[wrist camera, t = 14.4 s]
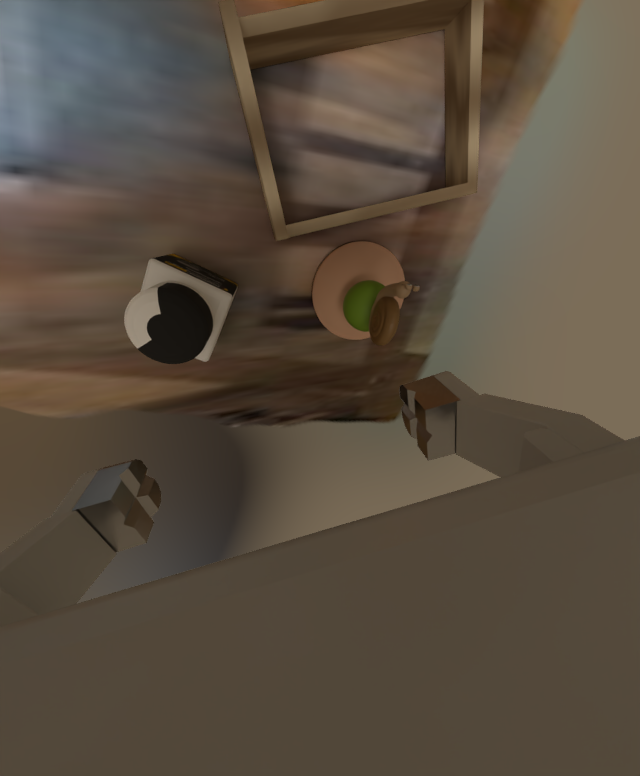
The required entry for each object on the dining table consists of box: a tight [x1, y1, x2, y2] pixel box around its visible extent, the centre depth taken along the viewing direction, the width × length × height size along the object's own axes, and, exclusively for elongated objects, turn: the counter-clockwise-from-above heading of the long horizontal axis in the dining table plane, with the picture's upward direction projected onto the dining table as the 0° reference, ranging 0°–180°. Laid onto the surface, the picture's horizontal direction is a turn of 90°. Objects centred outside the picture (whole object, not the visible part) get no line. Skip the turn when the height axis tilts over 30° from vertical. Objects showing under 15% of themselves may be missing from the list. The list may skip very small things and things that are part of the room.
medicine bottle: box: [124, 254, 238, 364], centre depth 28 cm, size 7×7×12 cm
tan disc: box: [312, 241, 405, 340], centre depth 36 cm, size 11×11×1 cm
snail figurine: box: [343, 280, 420, 346], centre depth 30 cm, size 5×6×12 cm
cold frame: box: [218, 0, 484, 241], centre depth 26 cm, size 14×20×7 cm
